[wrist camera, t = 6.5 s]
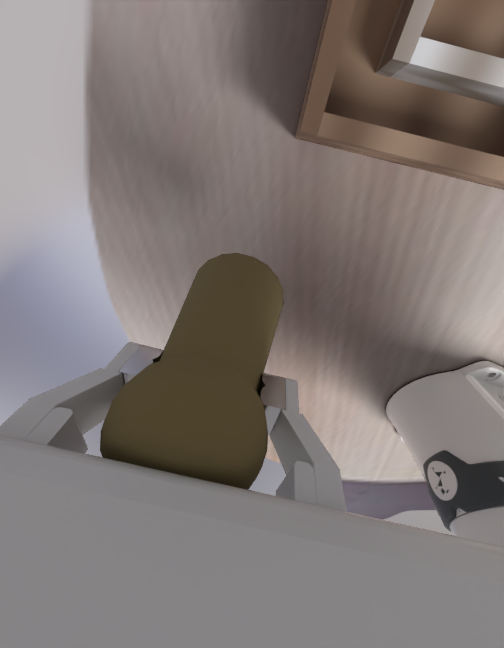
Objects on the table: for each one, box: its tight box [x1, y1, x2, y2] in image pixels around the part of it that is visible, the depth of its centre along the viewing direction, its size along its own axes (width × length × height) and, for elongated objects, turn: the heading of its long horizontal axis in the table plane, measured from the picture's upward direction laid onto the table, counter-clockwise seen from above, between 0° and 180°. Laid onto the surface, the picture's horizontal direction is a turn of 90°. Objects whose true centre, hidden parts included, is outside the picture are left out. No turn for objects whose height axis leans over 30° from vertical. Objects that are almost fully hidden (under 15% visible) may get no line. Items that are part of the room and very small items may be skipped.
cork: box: [100, 253, 283, 490], centre depth 11 cm, size 6×6×11 cm
